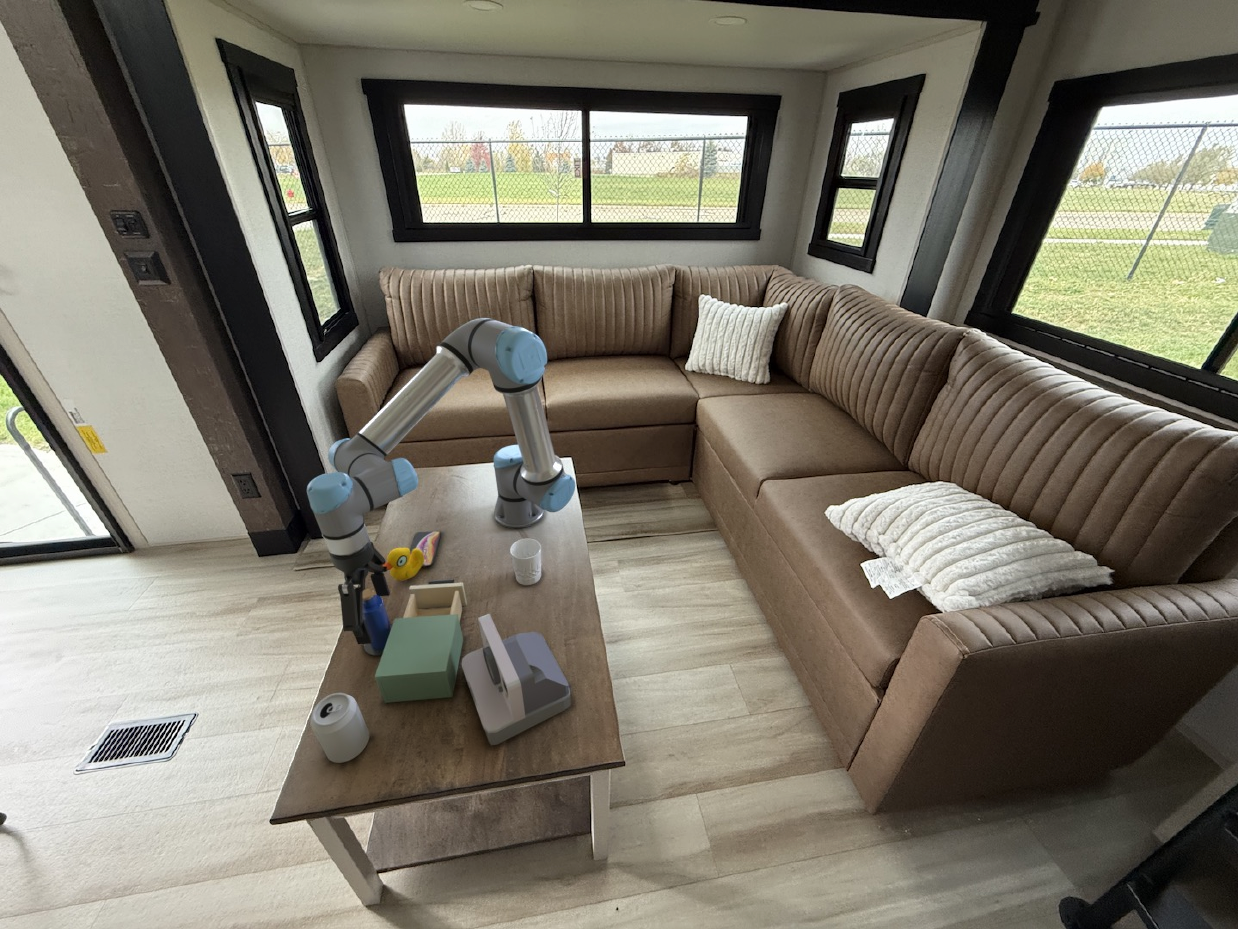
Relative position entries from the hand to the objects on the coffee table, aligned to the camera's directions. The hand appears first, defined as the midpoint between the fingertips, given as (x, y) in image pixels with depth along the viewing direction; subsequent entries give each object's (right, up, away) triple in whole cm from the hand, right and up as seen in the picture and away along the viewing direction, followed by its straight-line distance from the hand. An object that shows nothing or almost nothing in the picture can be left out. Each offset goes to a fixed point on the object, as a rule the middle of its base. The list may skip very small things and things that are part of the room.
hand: (375, 617), depth 111 cm
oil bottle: (0, -6, +4) cm, 8 cm away
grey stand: (+33, -14, -5) cm, 36 cm away
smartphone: (-1, +10, +31) cm, 32 cm away
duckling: (-2, +4, +22) cm, 22 cm away
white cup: (+30, +4, +23) cm, 38 cm away
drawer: (+11, -3, +9) cm, 14 cm away
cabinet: (+12, -11, -2) cm, 16 cm away
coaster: (0, -7, +4) cm, 8 cm away
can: (+3, -20, -16) cm, 25 cm away
